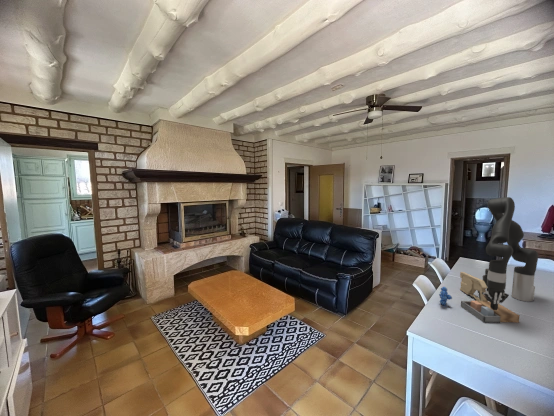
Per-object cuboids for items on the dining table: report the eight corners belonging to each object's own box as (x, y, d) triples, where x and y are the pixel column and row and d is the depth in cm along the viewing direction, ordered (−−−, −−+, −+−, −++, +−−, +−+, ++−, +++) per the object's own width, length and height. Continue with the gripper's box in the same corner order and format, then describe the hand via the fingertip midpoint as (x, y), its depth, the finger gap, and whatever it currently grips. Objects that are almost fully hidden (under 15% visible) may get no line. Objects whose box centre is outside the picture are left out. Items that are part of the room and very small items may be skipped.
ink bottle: (492, 283, 174) (493, 268, 173) (502, 288, 165) (504, 272, 164) (478, 283, 175) (479, 267, 174) (487, 288, 166) (489, 272, 165)
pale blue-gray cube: (487, 306, 131) (481, 306, 131) (493, 310, 126) (488, 310, 127) (486, 314, 131) (480, 314, 132) (493, 318, 127) (487, 318, 127)
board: (494, 308, 139) (495, 301, 139) (519, 322, 124) (519, 315, 124) (477, 307, 140) (477, 301, 140) (499, 322, 125) (500, 315, 125)
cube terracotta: (475, 300, 138) (470, 300, 138) (482, 304, 133) (476, 304, 134) (475, 307, 138) (470, 307, 138) (481, 311, 134) (476, 311, 134)
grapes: (450, 311, 136) (452, 291, 135) (437, 307, 140) (438, 288, 139) (452, 303, 145) (453, 285, 144) (439, 300, 149) (440, 282, 148)
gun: (488, 307, 140) (488, 282, 140) (482, 306, 141) (482, 282, 141) (464, 292, 164) (464, 271, 164) (459, 292, 165) (459, 271, 164)
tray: (474, 306, 141) (475, 301, 141) (500, 323, 124) (500, 316, 124) (460, 306, 142) (461, 300, 141) (483, 322, 125) (484, 316, 124)
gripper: (502, 277, 130) (500, 306, 132) (478, 276, 131) (476, 305, 133) (515, 282, 123) (512, 313, 124) (489, 281, 124) (487, 312, 125)
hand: (493, 309), depth 129 cm, fingers closed
